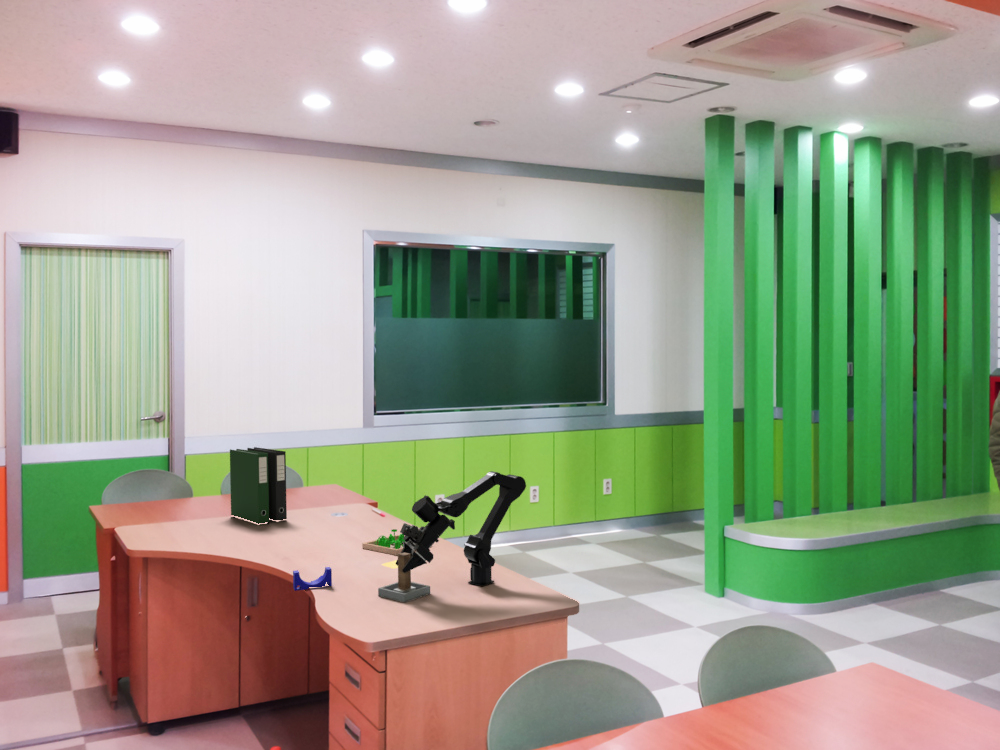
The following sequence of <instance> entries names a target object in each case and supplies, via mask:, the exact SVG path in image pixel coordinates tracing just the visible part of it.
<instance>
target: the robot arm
mask: <svg viewBox="0 0 1000 750" xmlns="http://www.w3.org/2000/svg"><path fill="white" fill-rule="evenodd" d="M526 483H527V482H526V480H525V478H524V477H522V476H519V475H515V474H503V473H501V472H498V471H489V472H487V473H486V474H485V475H484V476H482V477H481V478H480V479H478V480H477V481H475V482H474V483H472V484H471V485H469V486H468V487H466V488H464V489H463V490H462V491H460V492H458V493H453V494H451V495H449V496H446V497H444V498H442V499H441V501H439V502H434V501H433V500H432V498H431V497H430V496H429V495H423V497H422V498H420V499H418V500H417V501H415V502H414V503H413V504H412V507H411V511H412V512H413V513H414V514H415V515H416V516H417V517H418V518H419V519H420V520H421V521H422V522H423V523H427V524H425V526H422V525H421V526H420V527H418V526H417V525H414V524H412V525H411V524H408V523H405V522H404V523H403V524H402V527H401V529H400V531H399V532H400V534H403V535H404V538H403V540H405V542H404V541H402V542H403V547H402V548H403V550H402V552H401V553H404V552H405V553H409V554H410V559H409V561H408V562H407V563H406V565H405V566H404V568H403V570H402V571H403V572H404V573H405V572H408V571H410V570H414V569H416V568H418V567H421V566H423V565H425V564H426V565H427V564H430V563H431V562H432V561H433V560H434V554H433V552H431V547H432V546H433V545H434V544H435V543H439V541H440V540H439V538H440V537H441V536H442V535H443V534H444V532H446V530H447V529H449V528H450V529H452V530H455V529H456V527H455V525H456V524H455V522H456V521H455V520H454V519H450V518H448V517H447V516H449V517H452V518H458V517H460V516H461V515H462V514H463V513H464V512H465V511H467V509H468V508H469V506H470V505H471V504H472V502H474V501H475V500H477V499H478V498H479V497H481V496H483V495H484V494H485V493H487V492H488V491H489V490H491V489H493V488H494V487H495V486H499V488H498V497H497V499H496V500H495V502H494V505H493V506H492V507H491V509H490V511H489V513H488V515H487V517H486V518H485V521H484V523H483V524H482V526H481V528H480V530H479V531H478V532H477V533H476V534H475V535H473V534H469V536H468V538H467V540H466V542H465V543H464V544H463V546H464V548H463V555H464V557H465V558H466V559H467V562H468V564H470V569H469V570H470V572H469V573H470V575H469V576H470V577H469V578H470V579H469V581H467V584H469V583H470V585H474V584H476V585H475V586H478V585H481V586H480V587H485V586H488V585H490V584H489V583H491V584H493V583H492V582H494V583H495V580H494V579H492V567H494V566H495V563H496V559H495V558H494V557H493V556H492V555H491V554H490V553H491V549H492V540H493V537H494V536H495V534H496V532H497V530H498V528H499V526H500V525H501V523H502V521H503V520H504V518H505V515H506V514H507V512H508V510H509V509H510V506H511V505H512V504H513V502H515V501H516V500H517V499H519V498H520V497H521V496H522V494H523V492H525V490H526V488H527V484H526ZM440 513H442V514H440ZM395 566H397V567H398V559H397V560H396V562H395ZM487 584H488V585H487ZM484 585H485V586H484Z"/></svg>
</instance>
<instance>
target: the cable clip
mask: <svg viewBox="0 0 1000 750" xmlns="http://www.w3.org/2000/svg"><path fill="white" fill-rule="evenodd" d="M299 571H300V570H298V569H297V570H293V571H292V583H293V584H292V585H293V590H294V592H295V591H304V590H309V589H308V588H309V587H322V586H325V584H326V582H327V584H328V585H329V586H333V582H332V581H333V579H332V567H330V566H325V567H324V571H323V574H322V575H320V576H319V577H317V578H316V579H315V580H311V581H310V582H308V581H305V580H304V579H302V578H301V576H300V572H299Z"/></svg>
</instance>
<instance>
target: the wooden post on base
mask: <svg viewBox="0 0 1000 750" xmlns="http://www.w3.org/2000/svg"><path fill="white" fill-rule="evenodd" d="M409 559H410V554H409V553H405V552H404V553H400V554H398V555H397V560H398V566H397V582H398V588H396V589H393V591H396V592H400V593H407V592H410V591H413V590H416V587H412V586H411V582H412V581H411V579H412V577H411V574H412V573H411V570H410V571H408V572H405V573H404V572H403V571H402V570H403V568H404V566H405V565H406V563H407V562H408V561H409Z"/></svg>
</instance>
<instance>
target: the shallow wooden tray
mask: <svg viewBox="0 0 1000 750" xmlns="http://www.w3.org/2000/svg"><path fill="white" fill-rule="evenodd" d="M399 535H400V534H395V541H396V540H397V539H398V537H399ZM392 536H393V537H394V535H392ZM385 537H386V538H387V539H389V536H385ZM385 537H384V538H385ZM386 538H385V539H386ZM376 540H377V539H375V540H371V541H367V542H364V543H362V544H361V545H362V546H361V547H362V549H363V548H364V550H368V549H369V551H374V552H379V553H384V554H388V555H392V556H398V554H400V553H401V552H402V550H403V547H400V548H399V549H395V548H392V547H390V548H388V547H383V546H378V541H379V540H380V539H379V540H377V542H376Z"/></svg>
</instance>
